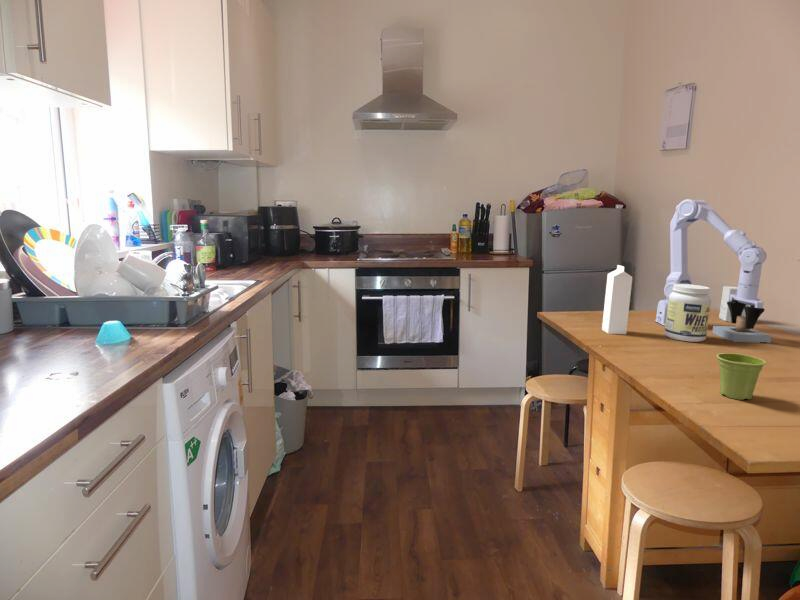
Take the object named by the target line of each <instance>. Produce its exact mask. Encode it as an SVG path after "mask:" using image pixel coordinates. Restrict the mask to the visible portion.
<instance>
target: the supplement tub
mask: <svg viewBox="0 0 800 600" xmlns="http://www.w3.org/2000/svg"><path fill="white" fill-rule="evenodd" d="M710 289H711V288H710V287H708V286H704V285H697V284H692V285H691V284H674V286H673V291H674V292H673V293H671V294H670V295H669V301H668V310H667V317H666V324H665V326H664V331H663V332H664V335H665V336H666V337H668V338H669V339H672V340H676V341H682V342H688V343H689V342H690V343H691V342H692V343H699V342H703V341H705V340H706V339H707V335H708V334H707V333H708V326H709V319H710V310H711V306H712V299H711V297H710V296H709V294H710V293H711V291H710Z"/></svg>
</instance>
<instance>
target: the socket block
mask: <svg viewBox="0 0 800 600" xmlns="http://www.w3.org/2000/svg"><path fill="white" fill-rule="evenodd" d="M735 327H736V326H729V325H728V326H726V325H713V326H712V334H713V335H716V336H719V337H721V338H723V339H725V340H728V341H731V343H755V344H761V343H760V342H767V343H766V344H771V343H772V336H773V335H771V334H769V333H767V332H763V331H760V330H757V329H755V328H753V329H750V330H749V333H746V332H736V331H735Z"/></svg>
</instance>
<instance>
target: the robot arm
mask: <svg viewBox="0 0 800 600" xmlns="http://www.w3.org/2000/svg"><path fill="white" fill-rule="evenodd" d="M699 220H701V221H705V222H707V223H708V224H709V225H710V226H711V227H712V228H714V229H715V230H716V231H717V232H718V233H719V234H721V235H722V236H723V243H724V244H725V245H726V246H727V247H728V248H729V249H730V250H731V251H732V252H733V253H735V254H736V256H738V261H739V262H740V264H741V266H740V270H739V278H738V282H737V287H738V289H737V295H736V294H730V300H732V301H731V302H727V305H728V307H729V309H730V314H731V321H732V322H731V323H732V324H736V320H737V316H741V315H742V312H743V309H744V310H745V315H746V321H745V327H746V328H747V329H755V327H756V326H755V325H756V323H757V322H758V319H759V318H760V317H761V315H762V314H763V313H764V312H765V311H766V310H765V308H764V302H763V301H761V299H760V298H758V294H759V287H760V281H761V276H762V275H761V274H762V267H763V264H764V263H765V261H766V260H767V252H766V251H765V250H764V248H763V247H761V246H757V245H758V244H757V243H756V242H753V241H752V240H751V239H749V238H748V236H746V235H747V233H746V231H743V230H740V229H733V228H732V227H731V226H730V224H728V223H727V221H726V220H724V219H723V217H722V216H721V215H720V214H719V213H718V212H717V211H716V210H715V209H714V207H713V206H712V205H710V204H709V203H708V202H707V201H706V200H703V199H689V198H687V199H684V200H682V201H681V202H679V204H677V205H676V206H675V212H674V215H673V217H672V218H671V221H670V224H669V226H670V227H669V230H670V231H669V235H670V238H669V239H670V240H669V241H670V245H669V246H670V253H669V254H670V273H669V275H668V276H667V277H666V281H665V285H664V288H663V293H664V296H665V297H666V298H665V299H661V300H659V301H658V304H657V308H656V315H655V320H654V322H655V321H656V323H657V322H658V324H660V325H662V326H664V327H665V324H666V317H667V310H668V301H669V295H670V294H671V293H673V292H674V291H673V286H674V284H691V285H693V282H692V277H691V275H690V274H689V272H688V268H689V267H688V228H689V227H691V225H693V223H694V222H696V221H699ZM746 304H747V305H749V306H746Z"/></svg>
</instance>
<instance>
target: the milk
mask: <svg viewBox="0 0 800 600" xmlns="http://www.w3.org/2000/svg"><path fill="white" fill-rule="evenodd" d="M632 285H633V276H632V275H630V274H629V273H627V272H626V271H625V266H623V265H620V264H617V265H616V269H615V270H613V271H610V272H609V273H607V276H606V285H605V295H604V306H603V307H604V308H603V316H602V323H601V330H602V331H603V332H605V333H607V334H608V335H609V334H611V335H627V331H628V329H627V328H628V322H629V321H628V320H629V313H630V311H629V310H630V304H631V294H632V293H631V292H632Z"/></svg>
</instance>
